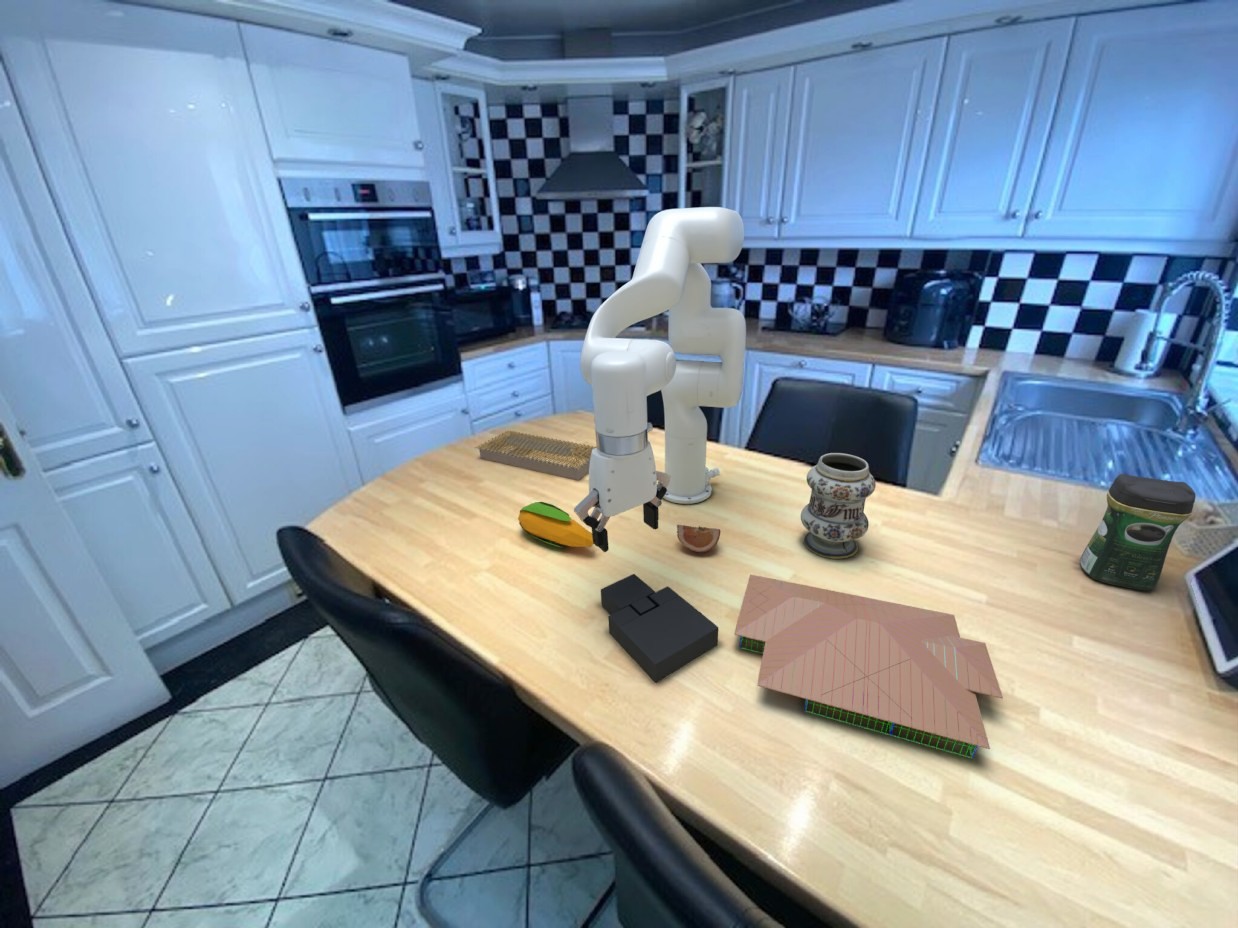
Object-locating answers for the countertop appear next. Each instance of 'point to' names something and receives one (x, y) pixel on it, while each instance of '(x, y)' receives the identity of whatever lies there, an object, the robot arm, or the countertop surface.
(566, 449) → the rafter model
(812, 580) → the countertop surface
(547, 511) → the corn
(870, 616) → the house
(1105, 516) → the coffee jar
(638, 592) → the tab pad
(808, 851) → the countertop surface
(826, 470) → the apothecary jar
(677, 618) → the notch pad
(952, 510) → the countertop surface
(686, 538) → the fruit slice
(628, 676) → the countertop surface
